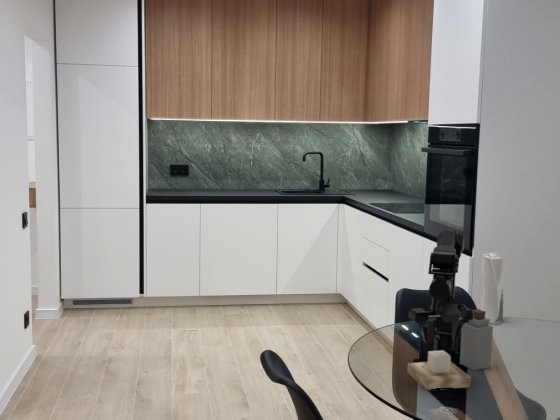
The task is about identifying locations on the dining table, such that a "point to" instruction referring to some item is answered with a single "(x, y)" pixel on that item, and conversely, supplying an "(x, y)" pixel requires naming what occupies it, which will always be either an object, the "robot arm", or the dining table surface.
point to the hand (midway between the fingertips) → (439, 341)
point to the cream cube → (439, 361)
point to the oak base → (438, 376)
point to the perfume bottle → (476, 342)
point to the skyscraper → (492, 288)
